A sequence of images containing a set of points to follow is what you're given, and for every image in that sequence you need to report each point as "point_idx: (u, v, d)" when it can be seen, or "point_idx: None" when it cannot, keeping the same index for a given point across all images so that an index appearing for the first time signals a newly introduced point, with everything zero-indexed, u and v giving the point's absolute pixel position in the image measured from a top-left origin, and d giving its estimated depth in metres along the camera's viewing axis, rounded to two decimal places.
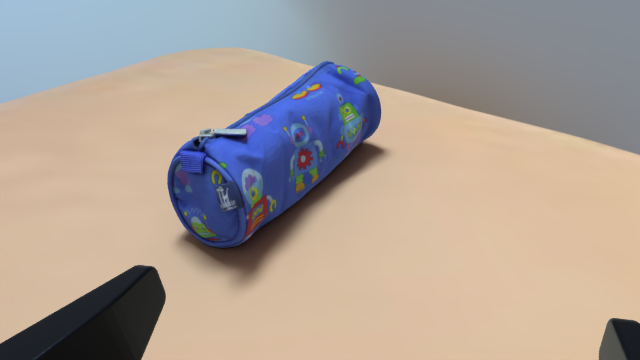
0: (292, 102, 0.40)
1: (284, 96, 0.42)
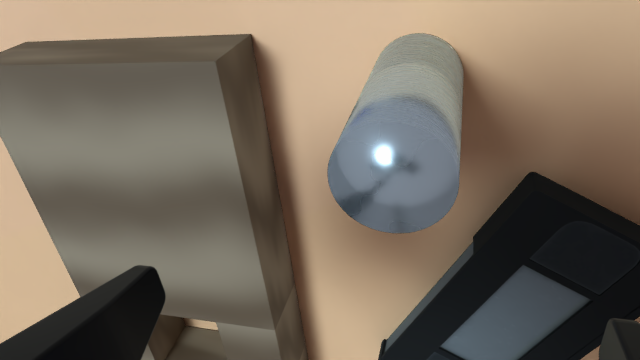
0: None
1: None
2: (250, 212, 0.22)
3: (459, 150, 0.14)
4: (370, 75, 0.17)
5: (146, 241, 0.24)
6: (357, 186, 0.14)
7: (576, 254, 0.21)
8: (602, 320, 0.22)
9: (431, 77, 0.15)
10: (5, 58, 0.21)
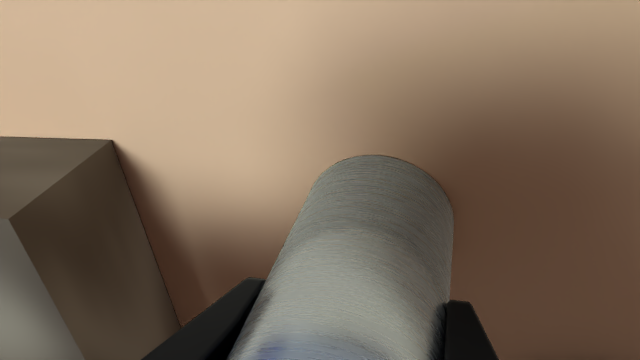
0: None
1: None
2: None
3: None
4: (282, 250, 0.10)
5: None
6: None
7: None
8: None
9: (380, 306, 0.07)
10: None
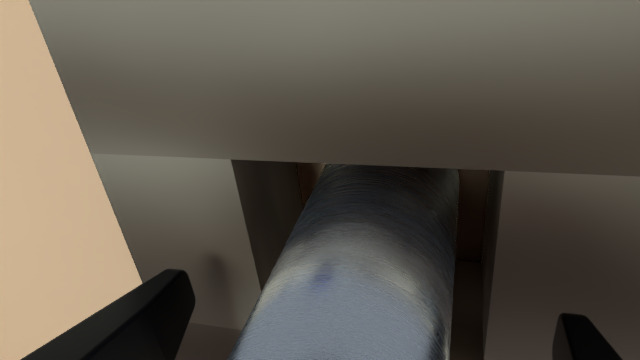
0: None
1: None
2: None
3: None
4: (308, 200, 0.11)
5: None
6: None
7: None
8: None
9: (398, 235, 0.09)
10: None
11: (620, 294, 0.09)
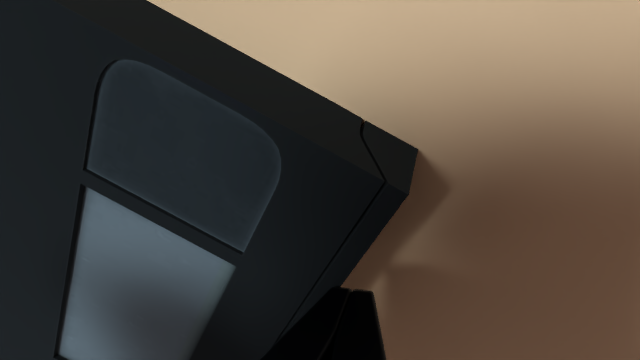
0: None
1: None
2: None
3: None
4: None
5: None
6: None
7: (161, 154, 0.09)
8: (269, 310, 0.10)
9: None
10: None
11: None
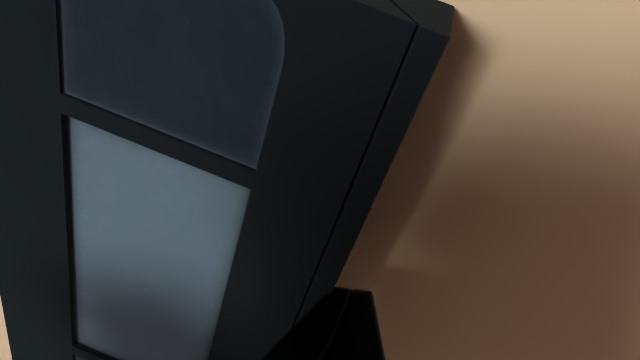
0: None
1: None
2: None
3: None
4: None
5: None
6: None
7: (142, 53, 0.07)
8: (296, 241, 0.09)
9: None
10: None
11: None
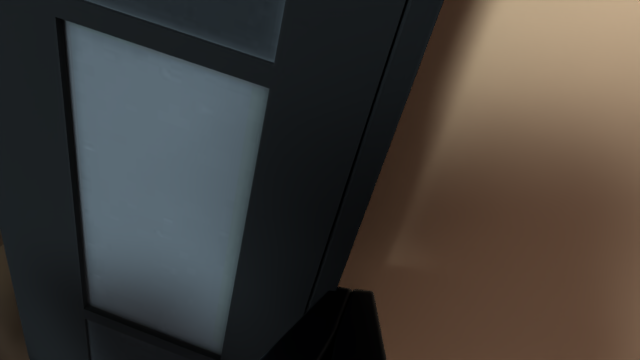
0: None
1: None
2: None
3: None
4: None
5: None
6: None
7: None
8: (323, 150, 0.08)
9: None
10: None
11: None
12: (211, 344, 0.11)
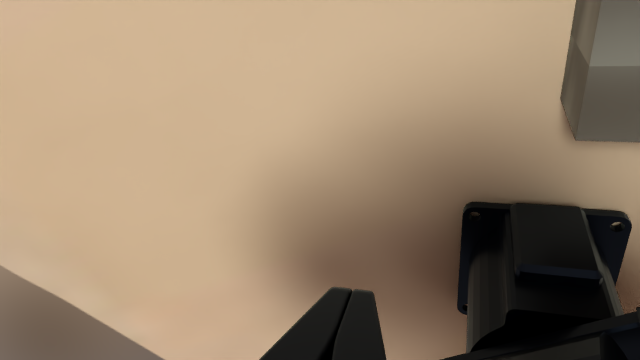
0: None
1: None
2: None
3: None
4: None
5: None
6: None
7: None
8: None
9: None
10: None
11: None
12: None
